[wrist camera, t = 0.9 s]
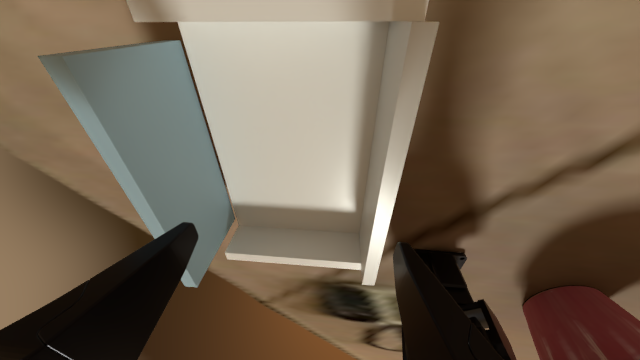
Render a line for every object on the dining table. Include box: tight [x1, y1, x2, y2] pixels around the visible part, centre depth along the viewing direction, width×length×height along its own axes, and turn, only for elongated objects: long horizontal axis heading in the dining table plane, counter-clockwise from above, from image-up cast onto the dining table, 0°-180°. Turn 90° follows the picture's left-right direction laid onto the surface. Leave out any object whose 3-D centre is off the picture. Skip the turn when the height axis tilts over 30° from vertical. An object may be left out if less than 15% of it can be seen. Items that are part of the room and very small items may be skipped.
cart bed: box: [126, 0, 439, 285], centre depth 17 cm, size 20×14×8 cm
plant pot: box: [523, 286, 640, 360], centre depth 26 cm, size 14×14×13 cm
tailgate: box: [38, 40, 235, 287], centre depth 16 cm, size 16×2×8 cm, turn 0°
